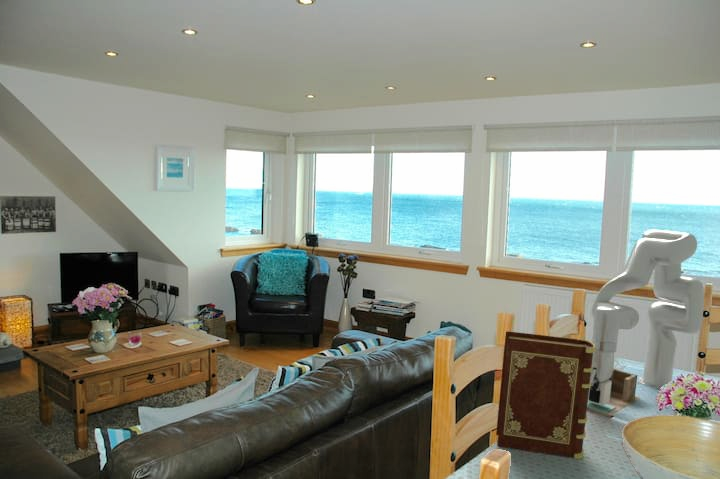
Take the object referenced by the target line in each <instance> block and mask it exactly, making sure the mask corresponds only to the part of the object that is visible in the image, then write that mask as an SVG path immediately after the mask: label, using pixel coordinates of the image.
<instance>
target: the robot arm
mask: <svg viewBox="0 0 720 479" xmlns="http://www.w3.org/2000/svg"><path fill="white" fill-rule="evenodd" d="M641 236H642V237H641V238H640V239H637V240H636V241H635V242H634V245H633V247H632V249H631V251H630V253H629V256H628V257H627V261H626V263H625V266H624V267H623V270H622V272H621V274H619V275H617V276H616V277H614V278H612V279H611V280H609V281H608V282H607V283H605V284H604V285H602V287H601V288H600V290H599V291H598V293H597V295H596V298H595V299H594V302H593V304H592V307H591V312H590V313H591V318H592V319H593V325H592V332H591V341H590V342H592V343H593V344H594V345H595V352H593V359H592V365H593V371H592V372H591V376H590V380H591V387H590V392H589V400H590V401H593V402H596V403H599V400H600V391H599V390H600V385H601V382H602V381H605V380H609V378H611V376H612V374H613V369H614V366H615V365H614V362H615V353H616V352H617V347H618V338H619V330H632V329H633V328H635V327H636V326H638V323H639V320H640V316H639V315H640V314H639V312H638V311H637V310H636V309H635V308H634V307H631V306H630V305H629V306H628V305H623V304H619V303H614V302H610V301H611V300H612V299H613V298H615V296H616V295H618V294H620V293H623V292H627V291H632V290H636V289H641V288H645V287H646V286H647V285H648V284H649V282H650V280H651V277H652V275H653V294H654V296H655V297H656V298H658V299H659V300H660V299H661V300H665V301H655V302H652V303H651V304H650V305H649V306H648V309H647V325H648V329H647V330H648V331H647V339H646V340H647V341H646V349H645V357H644V365H643V366H644V367H643V372H642V373H643V374H642V376H641V377H639V378H638V377H637V383H638V385H642V386H647V387H649V388H653V389H656V390H659V389H660V388H661V387H662V386H663V385H665V384H668V383H669V382H671V381H672V382H673V374H674V368H675V360H676V352H677V343H678V342H677V338H676V335H675V334H674V332H678V333H683V334H688V335H696V334H698V333H699V332H700V330H701V329H702V325H703V319H704V318H703V317H704V316H703V315H704V304H705V303H704V302H705V301H704V299H705V288H704V284H703V283H702V281H700V280H699V279H697V278H694V277H689V276H684V275H682V263H683V262H685V261H686V260H687V261H688V259H690V258H692V256H694V254H695V253H696V251H697V249H698V240H697V238H696V237H695V235H694V234H692V233H689V232H683V231H681V232H680V231H674V230H673V231H671V230H662V229H648V230H646V231H644V232H643V234H641ZM666 301H668V302H666ZM669 301H670V302H669ZM673 302H675V303H673ZM677 303H679V304H677ZM681 304H683V305H681ZM595 378H597V379H598V380H595ZM595 382H597V383H598V384H596V383H595Z"/></svg>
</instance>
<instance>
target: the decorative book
mask: <svg viewBox="0 0 720 479" xmlns="http://www.w3.org/2000/svg"><path fill="white" fill-rule="evenodd" d="M504 337H505V338H504V348H503V358H502V359H503V360H502V369H501V370H502V371H501V380H500V390H499V401H498V409H497V410H498V412H497V422H496V431H495V432H496V433H495V436H497V447H500V448H506V449H510V450H511V449H513V450H519V451H525V452H531V453H538V454H544V455H550V456H557V457H558V456H559V457H564V458H565V457H566V458H573V459H576V460H581V459H582V458H583V457H584V454H585V452H584V451H585V449H584V440H585V437H586V433H587V432H586V429H585V428H586V423H587V421H588V415H587V412H588V411H587V403H588V394H589V387H591V380H590V376H591V372H592V371H593V365H592V359H593V352H595V345H594V344H593V343H592V342H591V341H590V340H586V339H577V338H570V337H569V338H568V337H559V336H553V335H552V336H550V335H544V334H543V335H542V334H534V333H524V332H516V331H505V336H504Z"/></svg>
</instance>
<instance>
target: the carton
mask: <svg viewBox="0 0 720 479" xmlns="http://www.w3.org/2000/svg"><path fill="white" fill-rule="evenodd" d="M595 380H598V379H597V378H595ZM595 383H596V384H598V383H597V382H595ZM611 383H612V381H610V380H605V381H602V382H601V385H600V390H599V391H600V400H599V403H597V404H600V405H605V404H607V403H608V402H609V401H610V392H611ZM589 392H590V387H589ZM588 401H590V400H589V394H588ZM591 402H593V401H591ZM594 403H596V402H594Z"/></svg>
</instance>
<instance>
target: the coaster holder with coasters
mask: <svg viewBox="0 0 720 479" xmlns="http://www.w3.org/2000/svg"><path fill="white" fill-rule="evenodd" d="M609 380H610V381H612V383H611V392H610V401H609V402H608V403H607V404H605V405H600V404H597V403H594V402H591V401H588V403H587V412H589V413H593V414H596V415H598V416H601V417H604V418H607V419H612V418H614V414H616V413H618V412H619V411H621V410H622V409H623V410H624V408H626V407H628V406H630V405H631V404H633V403H635V402H636V401H638V400H640V399H641V397H640V396H637V395H636V389H637V383H638V374H633V373H631V372H627V371H623V370H619V369H616V368H613V374H612V376H611V378H609Z"/></svg>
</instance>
